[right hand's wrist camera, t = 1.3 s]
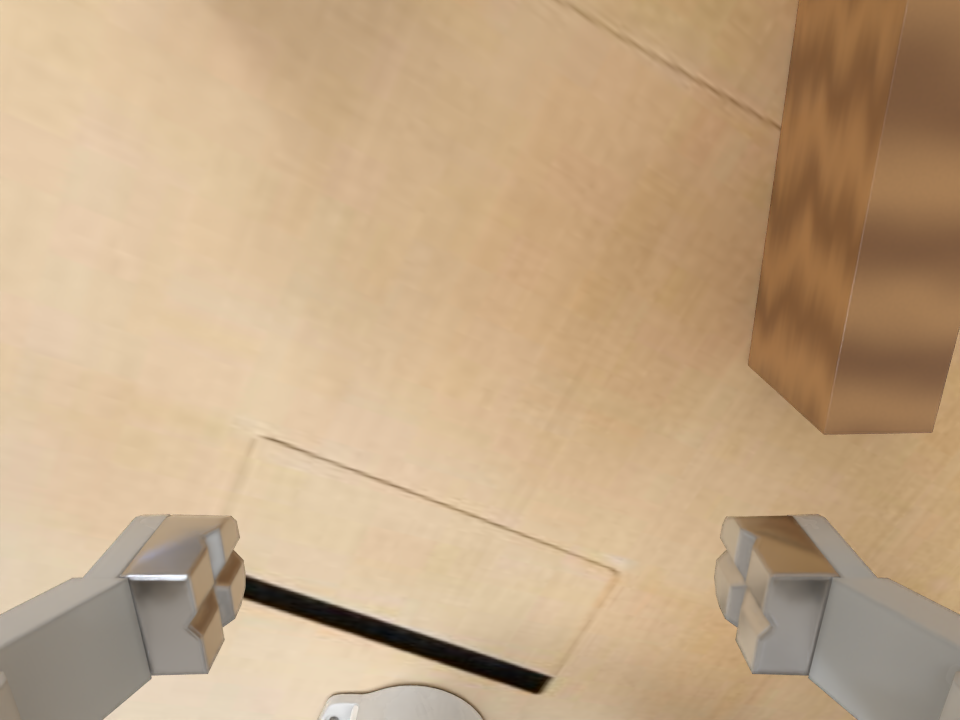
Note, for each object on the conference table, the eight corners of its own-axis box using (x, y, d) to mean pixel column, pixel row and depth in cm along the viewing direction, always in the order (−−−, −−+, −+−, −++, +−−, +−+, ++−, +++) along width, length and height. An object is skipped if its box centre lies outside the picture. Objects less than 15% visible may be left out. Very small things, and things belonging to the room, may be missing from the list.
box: (799, -8, 39) (918, -55, 28) (903, -11, 39) (1061, -58, 28) (747, 365, 47) (823, 435, 37) (832, 363, 47) (933, 433, 37)
